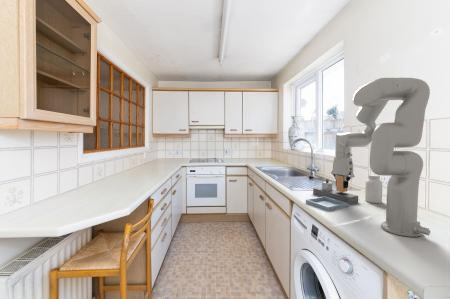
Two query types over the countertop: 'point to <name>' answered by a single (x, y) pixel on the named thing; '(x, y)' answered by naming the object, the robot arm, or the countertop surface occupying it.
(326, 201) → the tray
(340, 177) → the plug
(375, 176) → the pill bottle
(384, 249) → the countertop surface
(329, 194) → the grey two-slot holder
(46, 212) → the countertop surface
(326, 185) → the twin plug
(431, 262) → the countertop surface
